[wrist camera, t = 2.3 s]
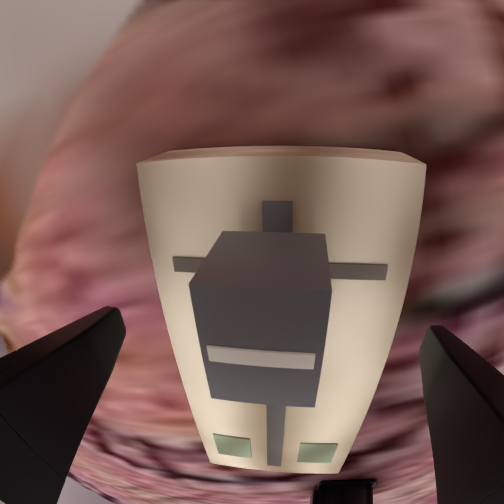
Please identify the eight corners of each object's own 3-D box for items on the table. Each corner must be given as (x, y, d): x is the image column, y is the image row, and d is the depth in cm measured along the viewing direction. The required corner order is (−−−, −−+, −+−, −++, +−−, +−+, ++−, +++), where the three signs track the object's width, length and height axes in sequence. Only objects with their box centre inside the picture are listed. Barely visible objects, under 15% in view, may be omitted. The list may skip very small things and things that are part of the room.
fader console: (400, 151, 11) (428, 165, 8) (338, 443, 21) (338, 474, 18) (169, 150, 13) (134, 163, 10) (218, 434, 22) (210, 464, 20)
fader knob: (323, 220, 10) (332, 292, 6) (315, 320, 11) (314, 409, 8) (230, 218, 10) (187, 285, 6) (238, 316, 12) (210, 400, 8)
